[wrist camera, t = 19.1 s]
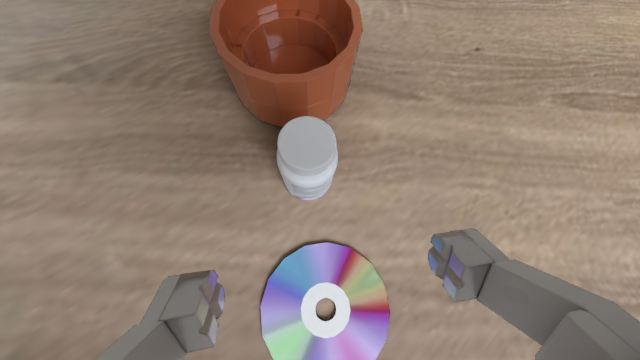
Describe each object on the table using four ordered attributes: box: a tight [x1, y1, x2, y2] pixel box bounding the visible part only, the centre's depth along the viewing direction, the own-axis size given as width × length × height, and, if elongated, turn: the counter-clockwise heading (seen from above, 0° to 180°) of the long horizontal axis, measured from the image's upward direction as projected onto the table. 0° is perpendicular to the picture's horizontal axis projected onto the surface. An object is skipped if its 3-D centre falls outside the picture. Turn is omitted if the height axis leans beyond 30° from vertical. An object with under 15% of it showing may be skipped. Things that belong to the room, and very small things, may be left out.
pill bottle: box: [277, 116, 338, 201], centre depth 19 cm, size 5×5×8 cm
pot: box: [209, 0, 363, 127], centre depth 23 cm, size 13×13×8 cm
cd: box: [260, 242, 390, 360], centre depth 20 cm, size 11×11×1 cm
